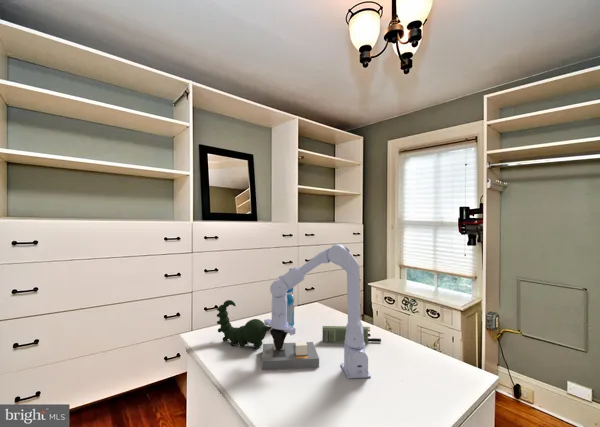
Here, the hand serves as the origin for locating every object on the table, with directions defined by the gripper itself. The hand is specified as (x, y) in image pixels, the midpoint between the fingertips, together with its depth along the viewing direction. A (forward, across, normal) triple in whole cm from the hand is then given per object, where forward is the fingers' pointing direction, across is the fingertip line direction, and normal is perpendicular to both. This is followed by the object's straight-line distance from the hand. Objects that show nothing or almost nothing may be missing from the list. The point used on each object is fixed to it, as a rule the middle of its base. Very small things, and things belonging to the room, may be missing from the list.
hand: (278, 349), depth 104 cm
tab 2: (+1, -7, -5) cm, 8 cm away
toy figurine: (+5, +21, 0) cm, 21 cm away
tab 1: (+1, +3, -2) cm, 4 cm away
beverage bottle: (+5, +23, -27) cm, 36 cm away
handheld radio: (+5, -11, -33) cm, 35 cm away
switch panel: (+4, -2, -4) cm, 6 cm away
